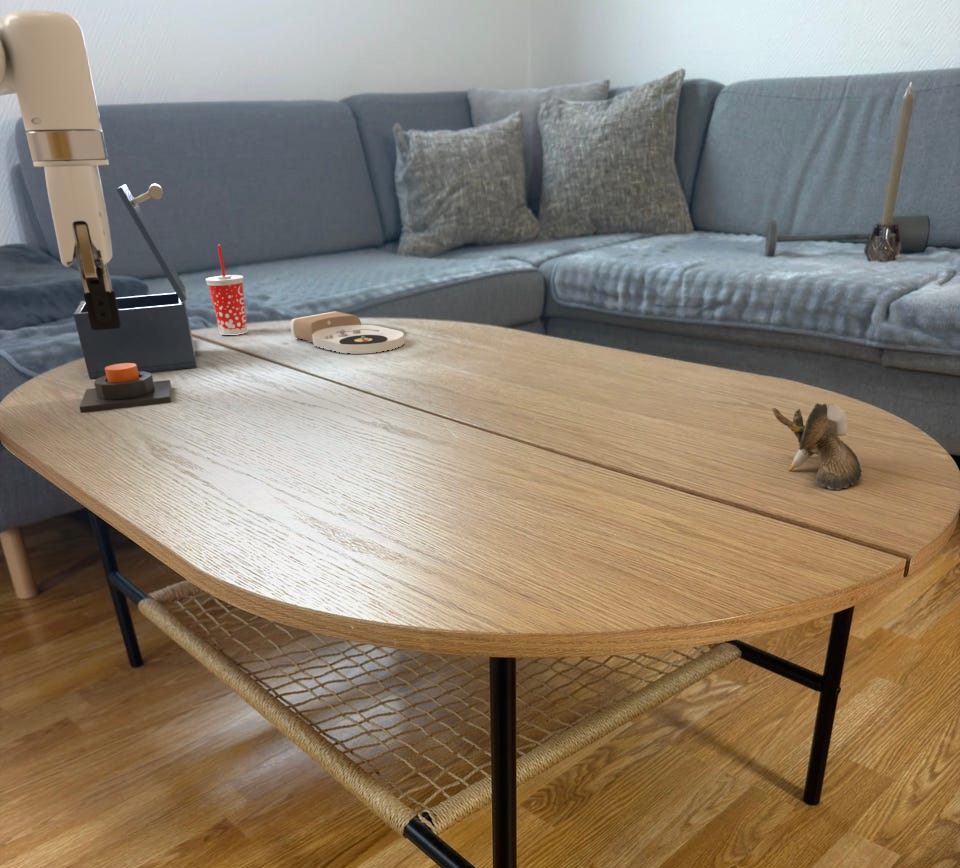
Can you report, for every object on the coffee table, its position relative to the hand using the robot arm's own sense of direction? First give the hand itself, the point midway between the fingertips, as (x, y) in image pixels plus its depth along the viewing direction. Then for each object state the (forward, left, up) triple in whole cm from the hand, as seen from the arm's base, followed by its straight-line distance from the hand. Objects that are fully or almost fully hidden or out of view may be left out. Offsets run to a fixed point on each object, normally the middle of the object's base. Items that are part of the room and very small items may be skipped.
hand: (106, 327), depth 101 cm
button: (0, 0, -6) cm, 6 cm away
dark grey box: (+1, +27, -10) cm, 29 cm away
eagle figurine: (+60, -51, -10) cm, 80 cm away
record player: (+32, +27, -10) cm, 43 cm away
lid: (+6, +27, +6) cm, 28 cm away
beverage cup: (+15, +45, -10) cm, 49 cm away
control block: (0, 0, -10) cm, 10 cm away
